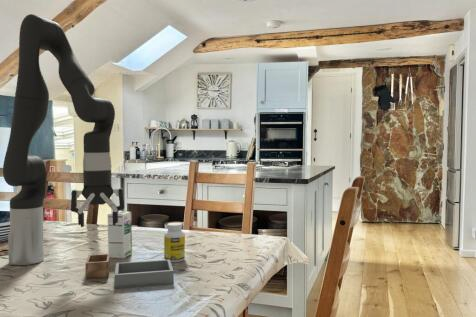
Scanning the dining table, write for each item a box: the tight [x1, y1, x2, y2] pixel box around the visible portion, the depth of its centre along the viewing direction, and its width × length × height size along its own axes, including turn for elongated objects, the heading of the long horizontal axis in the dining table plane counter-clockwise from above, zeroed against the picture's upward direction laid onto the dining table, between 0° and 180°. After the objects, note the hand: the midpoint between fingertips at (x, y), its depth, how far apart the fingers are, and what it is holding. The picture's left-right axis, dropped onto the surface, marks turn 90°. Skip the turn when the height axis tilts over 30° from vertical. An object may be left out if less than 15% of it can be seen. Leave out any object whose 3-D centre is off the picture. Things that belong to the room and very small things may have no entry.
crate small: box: [85, 253, 111, 280], centre depth 118 cm, size 6×8×4 cm
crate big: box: [114, 259, 174, 289], centre depth 114 cm, size 15×11×4 cm
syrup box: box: [107, 210, 133, 259], centre depth 137 cm, size 6×6×14 cm
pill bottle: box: [163, 222, 186, 263], centre depth 132 cm, size 6×6×12 cm
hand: (98, 225), depth 118 cm, fingers open, 8 cm apart
